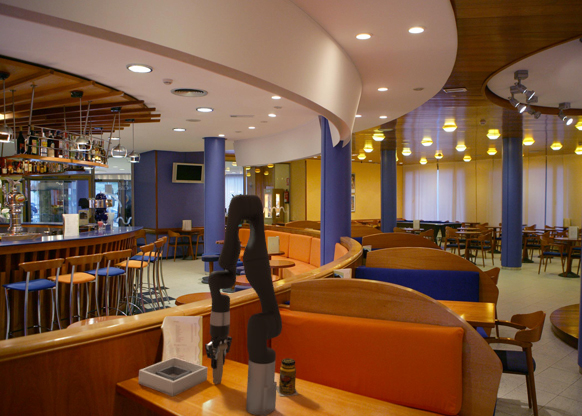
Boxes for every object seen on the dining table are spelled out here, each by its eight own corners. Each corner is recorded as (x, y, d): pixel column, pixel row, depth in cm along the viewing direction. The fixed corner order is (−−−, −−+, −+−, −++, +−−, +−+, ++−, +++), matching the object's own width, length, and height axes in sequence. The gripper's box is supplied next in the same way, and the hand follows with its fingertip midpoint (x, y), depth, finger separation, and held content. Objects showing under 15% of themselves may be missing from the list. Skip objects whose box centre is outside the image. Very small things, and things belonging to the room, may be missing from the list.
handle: (224, 385, 164) (226, 346, 164) (207, 384, 164) (209, 345, 164) (226, 380, 169) (228, 342, 168) (210, 379, 169) (211, 341, 169)
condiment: (280, 396, 158) (282, 364, 158) (274, 386, 166) (276, 356, 166) (299, 395, 160) (301, 363, 160) (292, 385, 168) (294, 355, 168)
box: (206, 379, 169) (207, 367, 169) (172, 396, 153) (173, 382, 153) (173, 368, 178) (174, 356, 178) (138, 383, 163) (139, 370, 162)
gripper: (215, 328, 158) (213, 374, 158) (239, 320, 170) (236, 363, 170) (199, 324, 162) (197, 369, 162) (224, 316, 174) (222, 359, 174)
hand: (217, 366), depth 166 cm, fingers closed on handle, 4 cm apart
